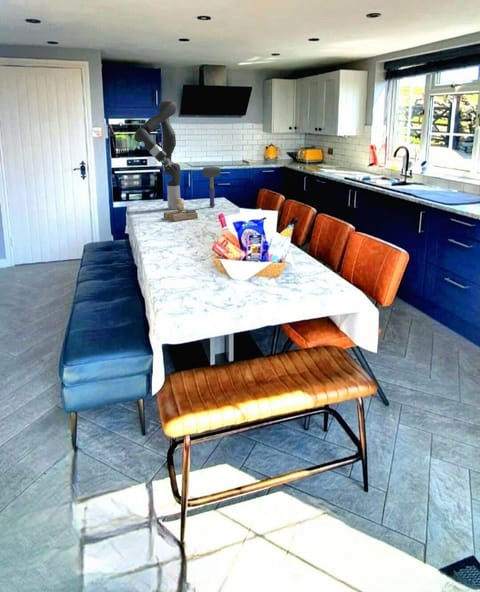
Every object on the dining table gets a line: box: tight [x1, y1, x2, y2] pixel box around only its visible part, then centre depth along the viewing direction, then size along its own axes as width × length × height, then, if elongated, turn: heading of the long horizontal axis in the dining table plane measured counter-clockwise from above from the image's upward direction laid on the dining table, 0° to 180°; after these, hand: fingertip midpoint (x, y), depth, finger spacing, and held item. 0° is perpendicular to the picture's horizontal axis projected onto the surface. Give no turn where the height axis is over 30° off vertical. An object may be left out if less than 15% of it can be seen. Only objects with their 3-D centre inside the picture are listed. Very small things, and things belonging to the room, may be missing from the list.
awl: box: [176, 197, 185, 213], centre depth 346 cm, size 5×5×12 cm
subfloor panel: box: [163, 208, 199, 223], centre depth 348 cm, size 15×18×4 cm
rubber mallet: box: [202, 166, 221, 208], centre depth 381 cm, size 12×8×30 cm, turn 101°
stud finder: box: [186, 208, 197, 213], centre depth 346 cm, size 3×6×2 cm, turn 127°
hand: (175, 170), depth 346 cm, fingers open, 8 cm apart
